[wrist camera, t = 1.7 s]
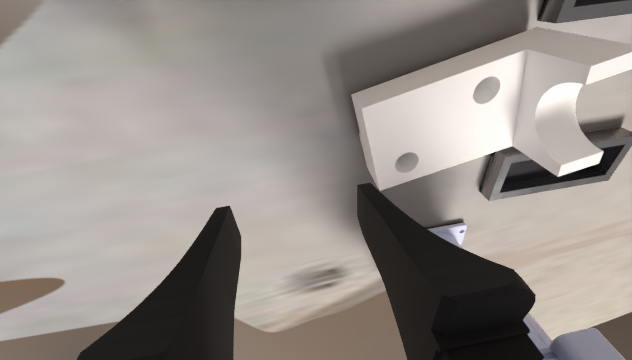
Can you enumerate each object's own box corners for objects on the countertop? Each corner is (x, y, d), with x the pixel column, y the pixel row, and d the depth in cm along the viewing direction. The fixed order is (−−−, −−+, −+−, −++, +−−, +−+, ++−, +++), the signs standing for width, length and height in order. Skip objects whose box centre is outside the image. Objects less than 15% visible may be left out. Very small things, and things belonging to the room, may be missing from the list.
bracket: (526, 25, 19) (646, 47, 13) (512, 115, 23) (598, 163, 17) (347, 90, 20) (383, 138, 14) (366, 166, 24) (400, 228, 18)
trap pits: (594, 171, 29) (608, 180, 27) (479, 191, 28) (488, 200, 27) (763, -100, 17) (802, -106, 16) (571, -80, 16) (596, -85, 15)
